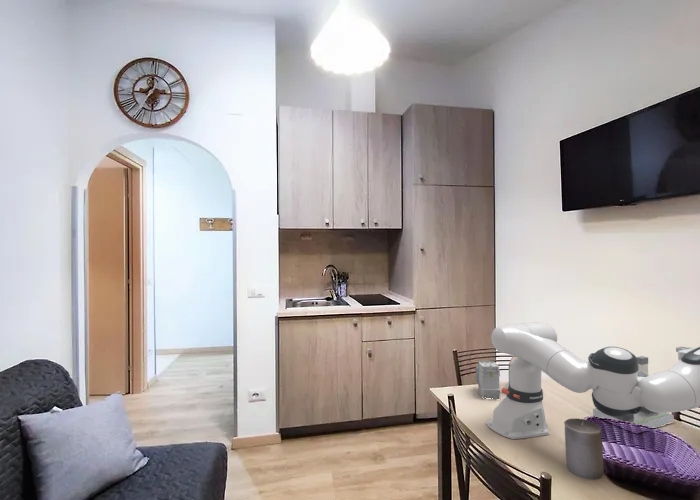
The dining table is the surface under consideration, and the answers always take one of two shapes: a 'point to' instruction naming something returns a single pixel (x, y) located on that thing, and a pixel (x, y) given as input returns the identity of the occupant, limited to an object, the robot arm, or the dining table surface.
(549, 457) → the dining table surface
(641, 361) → the lever
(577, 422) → the pillar candle
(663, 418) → the panel
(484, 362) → the circuit breaker
